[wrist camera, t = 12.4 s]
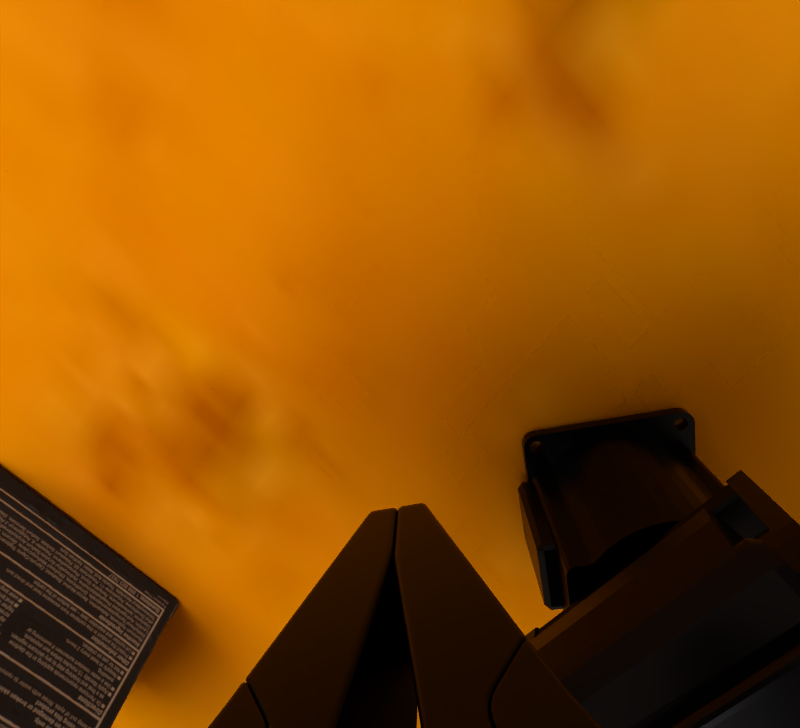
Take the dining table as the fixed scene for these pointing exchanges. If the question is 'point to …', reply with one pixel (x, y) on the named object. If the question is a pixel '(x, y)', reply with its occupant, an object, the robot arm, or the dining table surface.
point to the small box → (68, 618)
